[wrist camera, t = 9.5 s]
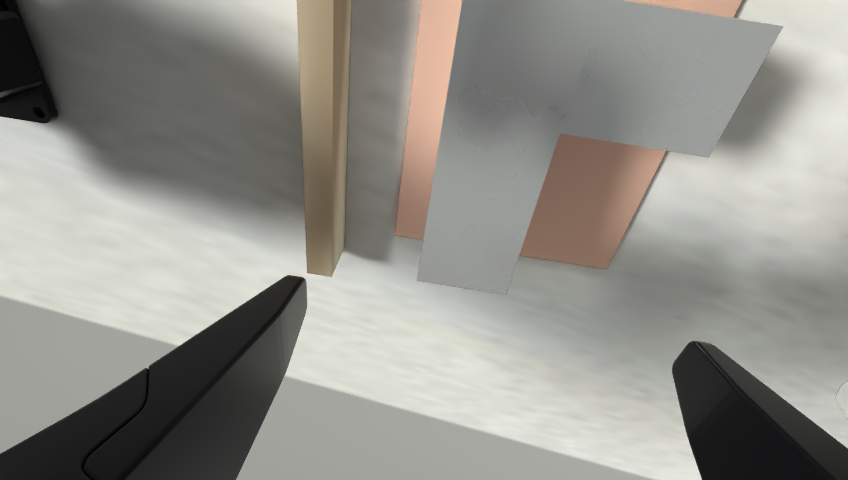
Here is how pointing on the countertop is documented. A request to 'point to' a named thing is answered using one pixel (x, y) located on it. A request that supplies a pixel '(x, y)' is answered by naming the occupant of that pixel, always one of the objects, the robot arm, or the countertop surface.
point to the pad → (568, 171)
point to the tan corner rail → (324, 126)
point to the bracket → (567, 110)
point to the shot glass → (843, 399)
